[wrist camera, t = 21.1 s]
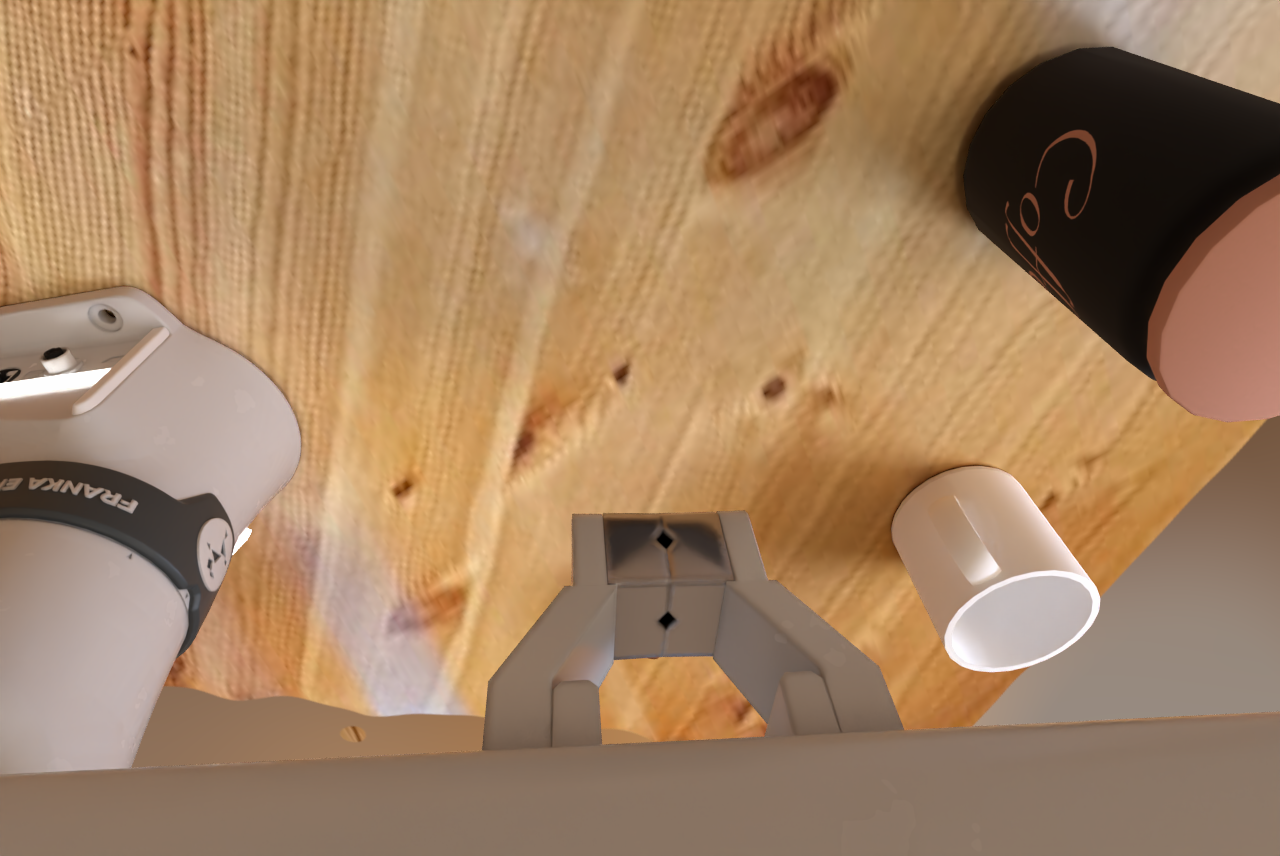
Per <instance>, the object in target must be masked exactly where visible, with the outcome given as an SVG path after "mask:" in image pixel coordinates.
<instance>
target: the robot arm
mask: <svg viewBox="0 0 1280 856" xmlns="http://www.w3.org/2000/svg"><path fill="white" fill-rule="evenodd" d="M105 310H109V311H111V312H112V313H113V314H114V315H115V317H111V316H110V315H108V314H107V313H106V312H105ZM300 454H301V436H300V430H299V426H298V423H297V420H296V417H295V415H294V413H293V411H292V409H291V406H290V405H289V403H288V401H287V400H286V398H285V397H284V395H283V394H282V393H281V391H280V390H279V389H278V387H277V386H276V385H275V384H274V383H273V382H272V381H271V380H270V379H269V378H268V377H267V376H266V375H265V374H264V373H263V372H262V371H261V370H260V369H259V368H258V367H256V366H255V365H254V364H253V363H251V362H250V361H249V360H247V359H246V358H244V357H243V356H241V355H240V354H238V353H237V352H235V351H233V350H232V349H230V348H228V347H226V346H224V345H223V344H221V343H219V342H216V341H214V340H212V339H210V338H208V337H206V336H204V335H202V334H200V333H198V332H196V331H194V330H192V329H190V328H189V327H187V326H185V325H184V324H182V323H181V322H180V321H179V320H178V319H177V318H176V317H175V316H174V315H173V314H172V313H171V312H169V311H168V310H167V309H166V308H165V307H164V306H163V305H162V304H160V303H159V302H158V301H157V300H156V299H154V298H153V297H151V296H150V295H149V294H147V293H145V292H144V291H142V290H140V289H137V288H134V287H129V286H120V287H114V288H108V289H102V290H96V291H91V292H85V293H79V294H73V295H67V296H61V297H55V298H50V299H44V300H38V301H32V302H26V303H20V304H14V305H9V306H3V307H0V856H1280V712H1261V713H1240V714H1220V715H1199V716H1181V717H1180V716H1179V717H1158V718H1138V719H1118V720H1097V721H1078V722H1056V723H1037V724H1015V725H994V726H973V727H953V728H932V729H912V730H904V728H903V725H902V723H901V720H900V718H899V715H898V713H897V710H896V708H895V705H894V703H893V700H892V698H891V695H890V693H889V690H888V688H887V685H886V683H885V680H884V678H883V675H882V672H881V670H880V667H879V666H878V665H877V664H875V663H874V662H873V661H872V660H871V659H869V658H868V657H867V656H866V655H865V654H864V653H862V652H861V651H860V650H859V649H858V648H856V647H855V646H854V645H853V644H852V643H850V642H849V641H848V640H847V639H846V638H845V637H843V636H842V635H841V634H840V633H839V632H837V631H836V630H835V629H834V628H833V627H831V626H830V625H829V624H828V623H827V622H825V621H824V620H823V619H822V618H821V617H820V616H818V615H817V614H816V613H815V612H814V611H812V610H811V609H810V608H809V607H808V606H806V605H805V604H804V603H803V602H802V601H801V600H799V599H798V598H797V597H796V596H795V595H793V594H792V593H791V592H790V591H789V590H787V589H786V588H785V587H784V586H783V585H782V584H780V583H779V582H778V581H777V580H768V578H767V575H766V572H765V568H764V565H763V562H762V558H761V555H760V552H759V548H758V545H757V541H756V538H755V535H754V531H753V528H752V525H751V521H750V518H749V515H748V513H747V512H746V511H717V512H692V513H659V514H643V513H603V514H572V586H564V588H563V589H562V590H561V591H560V593H559V594H558V595H557V596H556V598H555V599H554V600H553V601H552V603H551V604H550V605H549V606H548V608H547V609H546V610H545V611H544V613H543V614H542V615H541V616H540V618H539V619H538V620H537V621H536V623H535V624H534V625H533V626H532V628H531V629H530V630H529V631H528V633H527V634H526V635H525V636H524V638H523V639H522V640H521V641H520V643H519V644H518V645H517V646H516V648H515V649H514V650H513V651H512V653H511V654H510V655H509V656H508V658H507V659H506V660H505V661H504V663H503V664H502V665H501V666H500V668H499V669H498V670H497V671H496V673H495V674H494V675H493V676H492V678H491V679H490V680H489V681H488V691H487V702H486V713H485V724H484V735H483V746H482V751H466V752H465V751H463V752H445V753H423V754H404V755H382V756H362V757H343V758H321V759H303V760H302V759H301V760H282V761H281V760H280V761H262V762H240V763H220V764H200V765H181V766H180V765H179V766H159V767H139V768H131V767H132V764H133V761H134V759H135V756H136V753H137V750H138V748H139V745H140V742H141V739H142V737H143V734H144V732H145V729H146V727H147V724H148V721H149V719H150V717H151V714H152V711H153V709H154V706H155V704H156V702H157V699H158V697H159V695H160V692H161V690H162V688H163V685H164V683H165V681H166V678H167V676H168V674H169V672H170V670H171V667H172V665H173V663H174V661H175V659H176V658H178V657H179V656H180V655H181V654H183V653H184V652H185V651H186V650H187V649H188V648H189V646H190V645H191V644H192V642H193V640H194V639H195V637H196V635H197V633H198V631H199V629H200V627H201V625H202V623H203V622H204V620H205V618H206V616H207V614H208V612H209V610H210V608H211V606H212V603H213V601H214V599H215V597H216V595H217V593H218V591H219V588H220V586H221V584H222V582H223V579H224V577H225V574H226V572H227V569H228V566H229V563H230V560H231V557H232V555H233V554H234V553H235V552H236V551H237V550H238V549H239V548H240V547H241V546H242V545H243V544H244V543H245V542H246V540H247V539H248V537H249V535H250V533H251V531H252V530H250V529H248V528H247V527H248V526H249V525H250V523H251V522H252V521H253V519H254V518H255V517H256V516H257V515H258V513H259V512H260V511H261V510H262V509H263V508H264V507H265V505H266V504H267V503H268V502H269V501H270V500H271V499H272V498H273V497H274V496H275V495H276V494H278V493H279V492H280V491H281V490H282V489H283V488H284V487H285V486H286V485H287V484H288V482H289V481H290V480H291V478H292V477H293V475H294V473H295V471H296V469H297V466H298V463H299V460H300ZM685 656H713V659H714V660H715V662H716V663H717V664H718V665H719V666H720V668H721V669H722V670H723V671H724V672H725V674H726V675H727V676H728V677H729V678H730V680H731V681H732V682H733V683H734V684H735V686H736V687H737V688H738V689H739V690H740V692H741V693H742V694H743V695H744V696H745V698H746V699H747V700H748V701H749V702H750V704H751V705H752V706H753V707H754V708H755V710H756V711H757V712H758V713H759V714H760V716H761V717H762V718H763V719H764V720H765V722H766V723H767V724H768V726H767V729H766V733H765V737H749V738H729V739H708V740H688V741H667V742H647V743H626V744H608V745H607V744H606V745H602V739H601V738H602V737H601V721H600V705H599V687H600V686H601V684H602V682H603V680H604V679H605V677H606V675H607V673H608V672H609V670H610V668H611V666H612V665H613V660H620V659H636V658H651V657H685Z"/></svg>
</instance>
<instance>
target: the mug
mask: <svg viewBox="0 0 1280 856" xmlns="http://www.w3.org/2000/svg"><path fill="white" fill-rule="evenodd" d="M891 532H892V541H893V543H894V545H895V547H896V549H897V551H898V553H899V555H900V557H901V559H902V561H903V563H904V565H905V567H906V569H907V571H908V573H909V575H910V578H911V580H912V582H913V584H914V586H915V588H916V590H917V592H918V594H919V596H920V598H921V600H922V602H923V604H924V606H925V608H926V610H927V612H928V614H929V616H930V618H931V620H932V623H933V625H934V627H935V629H936V631H937V633H938V635H939V637H940V639H941V641H942V643H943V645H944V647H945V649H946V651H947V652H948V654H949V656H950V658H951V659H952V660H954V661H955V662H956V663H958V664H959V665H961V666H963V667H966V668H969V669H972V670H975V671H985V672H1000V671H1011V670H1015V669H1019V668H1024V667H1028V666H1031V665H1034V664H1036V663H1039V662H1041V661H1044V660H1047V659H1049V658H1051V657H1052V656H1054V655H1056V654H1058V653H1060V652H1062V651H1063V650H1065V649H1067V648H1068V647H1069V646H1070V645H1072V644H1073V643H1074V642H1076V641H1077V640H1078V639H1079V638H1081V637H1082V635H1083V634H1084V633H1085V632H1086V631H1087V630H1088V628H1089V627H1090V626H1091V625H1092V624H1093V622H1094V620H1095V618H1096V616H1097V614H1098V612H1099V605H1100V596H1099V593H1098V591H1097V588H1096V586H1095V585H1094V583H1093V582H1092V581H1091V579H1090V578H1089V577H1088V575H1087V574H1086V573H1085V571H1084V570H1083V568H1082V567H1081V566H1080V564H1079V563H1078V562H1077V560H1076V559H1075V558H1074V556H1073V555H1072V554H1071V552H1070V551H1069V549H1068V548H1067V547H1066V545H1065V544H1064V543H1063V541H1062V540H1061V539H1060V537H1059V536H1058V535H1057V533H1056V532H1055V531H1054V529H1053V528H1052V526H1051V525H1050V524H1049V522H1048V521H1047V520H1046V518H1045V517H1044V516H1043V514H1042V513H1041V512H1040V510H1039V509H1038V507H1037V506H1036V505H1035V503H1034V502H1033V501H1032V499H1031V498H1030V497H1029V495H1028V494H1027V493H1026V491H1025V490H1024V488H1023V487H1022V486H1021V484H1020V483H1019V482H1018V481H1017V480H1016V479H1015V478H1014V477H1013V476H1012V475H1011V474H1009V473H1006V472H1004V471H1002V470H1000V469H997V468H991V467H984V466H968V467H960V468H956V469H953V470H949V471H945V472H943V473H941V474H939V475H936V476H934V477H932V478H930V479H928V480H927V481H925V482H924V483H922V484H921V485H919V486H918V487H917V488H915V489H914V490H913V491H912V492H911V493H910V494H909V495H908V496H907V497H906V498H905V499H904V500H903V501H902V503H901V505H900V507H899V508H898V510H897V512H896V513H895V516H894V519H893V523H892V527H891Z"/></svg>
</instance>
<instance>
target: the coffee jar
mask: <svg viewBox="0 0 1280 856" xmlns="http://www.w3.org/2000/svg"><path fill="white" fill-rule="evenodd" d="M963 176H964V186H965V196H966V206H967V209H968V211H969V213H970V214H971V216H972V218H973V220H974V222H975V224H976V226H977V228H978V230H979V231H981V232H982V233H983V234H984V235H985V236H986V237H987V238H989V239H990V240H991V241H992V242H993V243H994V244H995V245H996V246H998V247H999V248H1000V249H1001V250H1002V251H1003V252H1004V253H1006V254H1007V255H1008V256H1009V257H1010V258H1011V259H1012V260H1014V261H1015V262H1016V263H1017V264H1018V265H1019V266H1020V267H1021V268H1023V269H1024V270H1025V271H1026V272H1027V273H1028V274H1029V275H1031V276H1032V277H1033V278H1034V279H1035V280H1036V281H1037V282H1038V283H1040V284H1041V285H1042V286H1043V287H1044V288H1045V289H1046V290H1048V291H1049V292H1050V293H1051V294H1052V295H1053V296H1054V297H1056V298H1057V299H1058V300H1059V301H1060V302H1061V303H1062V304H1063V305H1065V306H1066V307H1067V308H1068V309H1069V310H1070V311H1071V312H1073V313H1074V314H1075V315H1076V316H1077V317H1078V318H1079V319H1081V320H1082V321H1083V322H1084V323H1085V324H1086V325H1087V326H1088V327H1090V328H1091V329H1092V330H1093V331H1094V332H1095V333H1096V334H1098V335H1099V336H1100V337H1101V338H1102V339H1103V340H1104V341H1105V342H1107V343H1108V344H1109V345H1110V346H1111V347H1112V348H1113V349H1115V350H1116V351H1117V352H1118V353H1119V354H1120V355H1121V356H1123V357H1124V358H1125V359H1126V360H1127V361H1128V362H1130V363H1131V364H1132V365H1134V366H1135V367H1136V368H1138V369H1139V370H1140V371H1142V372H1143V373H1144V374H1145V375H1147V376H1148V377H1149V378H1151V379H1153V380H1155V381H1157V383H1158V385H1159V387H1160V388H1161V389H1162V390H1163V391H1164V392H1165V393H1166V394H1167V395H1168V396H1169V397H1170V398H1171V399H1173V400H1174V401H1175V402H1177V403H1178V404H1179V405H1181V406H1182V407H1183V408H1185V409H1186V410H1187V411H1189V412H1190V413H1191V414H1193V415H1197V416H1202V417H1206V418H1211V419H1215V420H1220V421H1224V422H1236V421H1248V420H1260V419H1269V418H1271V417H1275V416H1278V415H1280V104H1279V103H1276V102H1273V101H1270V100H1267V99H1264V98H1261V97H1258V96H1255V95H1252V94H1249V93H1247V92H1244V91H1241V90H1238V89H1235V88H1232V87H1229V86H1226V85H1223V84H1220V83H1217V82H1214V81H1211V80H1208V79H1205V78H1202V77H1200V76H1197V75H1194V74H1191V73H1188V72H1185V71H1182V70H1179V69H1176V68H1173V67H1170V66H1167V65H1164V64H1161V63H1158V62H1156V61H1153V60H1150V59H1147V58H1144V57H1141V56H1138V55H1135V54H1132V53H1129V52H1126V51H1123V50H1120V49H1117V48H1114V47H1100V48H1082V49H1077V50H1074V51H1072V52H1069V53H1067V54H1064V55H1061V56H1059V57H1056V58H1054V59H1051V60H1048V61H1046V62H1043V63H1041V64H1039V65H1038V66H1037V67H1035V68H1034V69H1032V70H1031V71H1030V72H1028V73H1027V74H1026V75H1024V76H1023V77H1021V78H1020V79H1019V80H1017V81H1016V82H1014V83H1013V84H1012V85H1010V87H1009V88H1008V89H1007V90H1006V91H1005V92H1004V93H1003V95H1002V96H1001V97H1000V98H999V99H998V100H997V102H996V103H995V104H994V105H993V106H992V107H991V109H990V110H989V111H988V112H987V113H986V115H985V117H984V119H983V121H982V123H981V125H980V126H979V128H978V130H977V132H976V134H975V136H974V138H973V140H972V142H971V144H970V147H969V152H968V157H967V161H966V166H965V171H964V175H963Z"/></svg>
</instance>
